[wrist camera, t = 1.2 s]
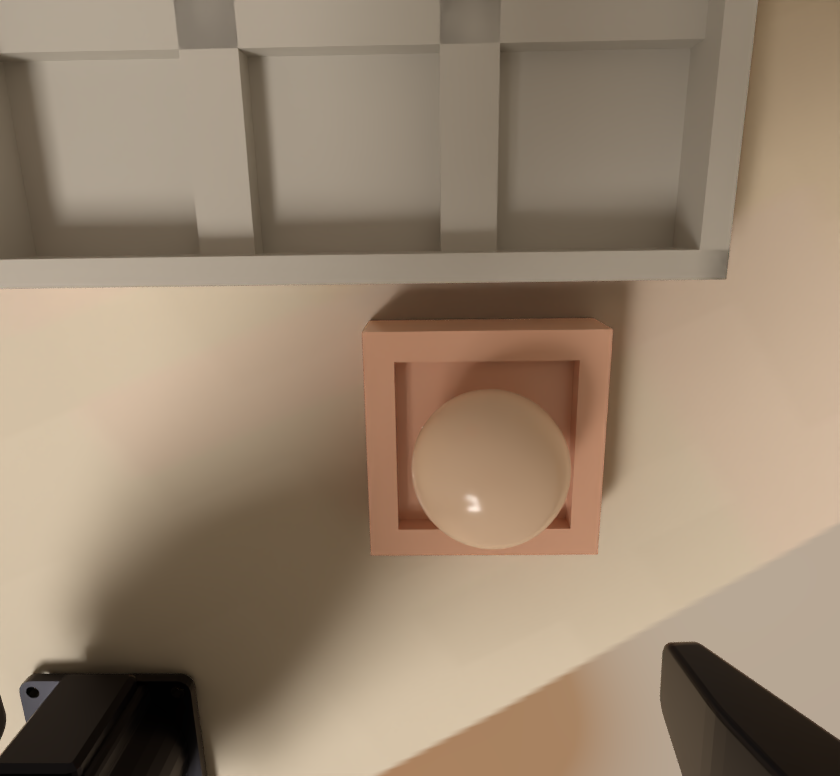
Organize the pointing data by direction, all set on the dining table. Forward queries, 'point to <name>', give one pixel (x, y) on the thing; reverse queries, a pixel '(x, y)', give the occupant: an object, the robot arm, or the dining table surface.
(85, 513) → the dining table surface
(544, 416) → the brown egg
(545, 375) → the egg dish
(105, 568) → the dining table surface
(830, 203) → the dining table surface
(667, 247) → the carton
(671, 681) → the robot arm
